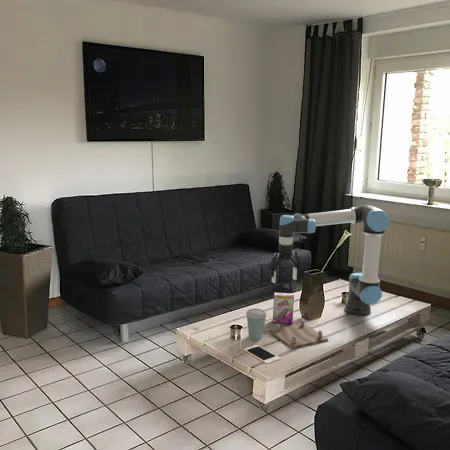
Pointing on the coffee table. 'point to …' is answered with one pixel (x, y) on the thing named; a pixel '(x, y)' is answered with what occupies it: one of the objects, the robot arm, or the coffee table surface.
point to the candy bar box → (283, 308)
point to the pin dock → (298, 335)
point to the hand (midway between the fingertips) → (284, 280)
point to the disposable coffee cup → (256, 322)
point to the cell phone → (261, 354)
